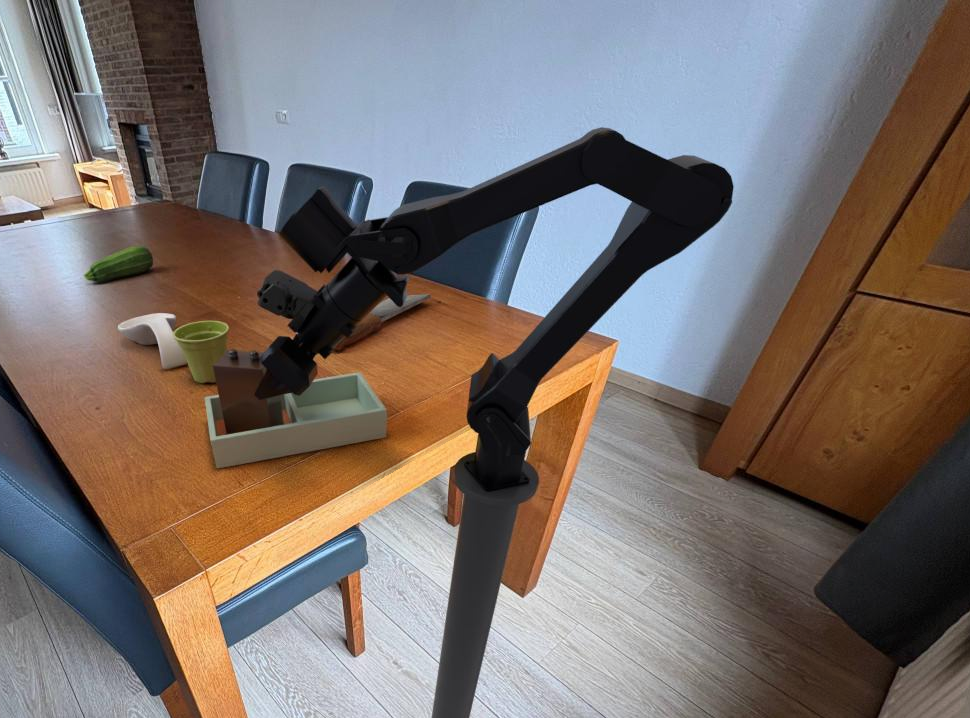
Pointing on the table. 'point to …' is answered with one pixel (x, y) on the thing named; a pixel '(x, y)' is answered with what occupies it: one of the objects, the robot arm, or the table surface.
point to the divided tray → (304, 422)
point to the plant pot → (202, 347)
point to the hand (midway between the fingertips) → (269, 380)
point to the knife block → (244, 393)
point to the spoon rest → (156, 336)
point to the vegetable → (121, 264)
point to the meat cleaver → (380, 317)
